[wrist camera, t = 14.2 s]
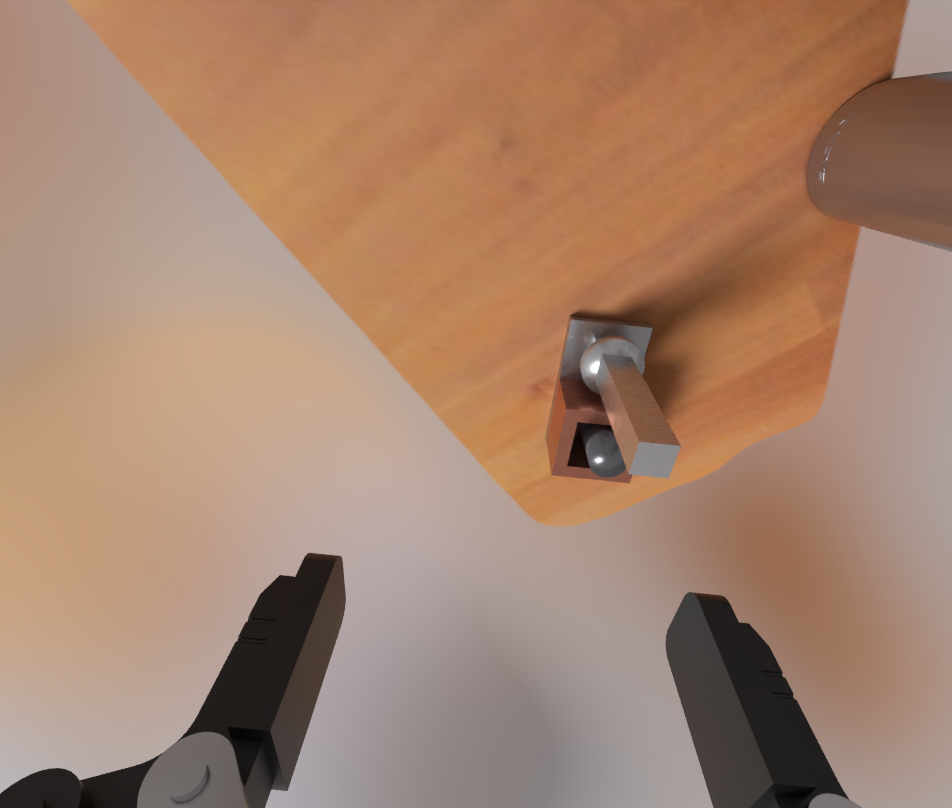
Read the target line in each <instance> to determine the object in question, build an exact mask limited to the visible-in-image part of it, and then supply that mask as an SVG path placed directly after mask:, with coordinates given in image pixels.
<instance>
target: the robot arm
mask: <svg viewBox="0 0 952 808" xmlns="http://www.w3.org/2000/svg"><path fill="white" fill-rule="evenodd" d="M807 185H808V191H809V193H810V196H811V199H812V201H813V202H814V203H815V205H816V206H817V207H818V209H819V210H821V211H822V212H823V213H825V214H826V215H828V216H830V217H833V218H836V219H839V220H842V221H846V222H849V223H853V224H856V225H860V226H863V227H866V228H870V229H873V230H876V231H880V232H884V233H887V234H891V235H894V236H898V237H901V238H905V239H908V240H912V241H916V242H919V243H923V244H927V245H930V246H933V247H937V248H941V249H944V250H948V251H951V252H952V72H941V73H934V74H926V75H919V76H911V77H903V78H895V79H889V80H886V81H883V82H880V83H877V84H874V85H872V86H870V87H868V88H867V89H865V90H863V91H861V92H859V93H858V94H856V95H855V96H854V97H852V98H851V99H850V100H849V101H847V102H846V103H845V104H844V105H842V107H841V108H840V109H839V110H838V111H837V112H836V113H835V114H834V115H833V116H832V117H831V118H830V120H829V121H828V122H827V124H826V125H825V127H824V128H823V129H822V131H821V132H820V134H819V136H818V138H817V140H816V142H815V144H814V146H813V148H812V152H811V155H810V158H809V161H808V169H807ZM345 602H346V595H345V584H344V574H343V562H342V558H341V556H335V555H325V554H315V553H308V554H307V555H306V556H305V558H304V560H303V562H302V564H301V566H300V568H299V570H298V572H297V575H296V577H293V576H283V575H280V576H279V577H278V578H276V580H275V581H273V582H272V583H271V585H269V586H268V587H267V588H266V589H265V590H264V591H263V592H262V593H261V594H260V596H259V598H258V600H257V602H256V604H255V606H254V607H253V609H252V611H251V613H250V615H249V617H248V622H246V623H245V625H244V627H243V629H242V631H241V633H240V635H239V636H238V641H237V642H235V644H234V646H233V648H232V650H231V652H230V654H229V656H228V658H227V660H226V662H225V664H224V665H223V667H222V669H221V671H220V673H219V675H218V677H217V679H216V681H215V683H214V685H213V687H212V689H211V691H210V692H209V695H208V696H207V698H206V700H205V702H204V704H203V706H202V708H201V710H200V712H199V714H198V716H197V717H196V719H195V721H194V722H193V724H192V725H191V727H190V728H189V729H188V731H187V732H186V733H185V734H184V735H183V736H182V737H181V738H180V739H179V740H178V741H177V742H176V743H175V744H173V745H172V746H171V747H169V748H168V749H167V750H166V751H165V752H164V753H162V754H160V755H159V756H157V757H155V758H154V759H151V760H149V761H147V762H145V763H142V764H139V765H136V766H133V767H129V768H125V769H121V770H117V771H114V772H110V773H106V774H103V775H99V776H95V777H91V778H87V779H84V780H79V779H78V778H77V776H76V775H74V774H73V773H72V772H71V771H68V770H66V769H60V768H56V769H55V768H54V769H47V770H42V771H39V772H36V773H33V774H31V775H29V776H27V777H25V778H23V779H21V780H19V781H18V782H16V783H14V784H13V785H11V786H10V787H9V788H7V789H6V790H5V791H3V792H2V793H1V794H0V808H265V806H266V803H267V800H268V797H269V794H270V791H271V789H274V790H283V791H287V790H288V787H289V784H290V781H291V778H292V775H293V772H294V769H295V766H296V763H297V760H298V756H299V754H300V750H301V747H302V744H303V741H304V738H305V735H306V732H307V729H308V726H309V723H310V720H311V717H312V714H313V710H314V707H315V704H316V701H317V698H318V695H319V692H320V689H321V686H322V683H323V680H324V677H325V673H326V670H327V667H328V664H329V661H330V658H331V655H332V652H333V649H334V645H335V643H336V639H337V636H338V633H339V630H340V627H341V624H342V620H343V616H344V610H345ZM666 651H667V658H668V661H669V665H670V667H671V671H672V674H673V677H674V681H675V684H676V687H677V691H678V694H679V697H680V700H681V704H682V707H683V709H684V713H685V717H686V720H687V723H688V726H689V730H690V733H691V736H692V739H693V743H694V746H695V749H696V752H697V755H698V759H699V762H700V765H701V768H702V772H703V775H704V778H705V781H706V785H707V788H708V791H709V794H710V798H711V801H712V804H713V807H714V808H861V807H860V806H859V805H857V804H855V803H854V802H852V801H850V800H849V798H848V797H847V795H846V794H845V792H844V791H843V789H842V787H841V786H840V784H839V782H838V780H837V778H836V776H835V774H834V772H833V771H832V768H831V767H830V765H829V763H828V761H827V759H826V757H825V755H824V753H823V751H822V749H821V747H820V745H819V743H818V741H817V739H816V737H815V735H814V733H813V731H812V729H811V727H810V725H809V724H808V722H807V719H806V718H805V716H804V714H803V712H802V710H801V708H800V706H799V704H798V702H797V700H796V699H794V698H793V692H792V690H791V688H790V686H789V685H788V682H787V680H786V678H784V677H783V676H782V670H781V669H780V667H779V665H778V663H777V661H776V659H775V657H774V655H773V653H772V651H771V649H770V647H769V646H768V645H767V644H766V643H765V641H764V640H763V639H762V638H761V637H760V636H759V634H758V633H757V632H756V631H755V630H754V629H753V628H752V627H751V625H750V624H748V623H739V622H738V620H737V618H736V616H735V613H734V611H733V609H732V607H731V605H730V603H729V602H728V600H727V599H726V598H725V597H723V596H721V595H711V594H701V593H691V592H689V593H687V594H686V595H685V596H684V598H683V600H682V602H681V604H680V606H679V608H678V610H677V612H676V614H675V616H674V619H673V620H672V623H671V624H670V626H669V628H668V631H667V635H666Z"/></svg>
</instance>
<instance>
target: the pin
mask: <svg viewBox="0 0 952 808" xmlns="http://www.w3.org/2000/svg"><path fill="white" fill-rule="evenodd" d="M578 424H579V428H580V432H581V436H582V439H583V443H584V447H585V451H586V455H587V458H588V462H589V466H590V469H591V470H592V472H593V473H594V474H596V475H598V476H600V477H605V478H610V477H615V476H617V475H619V474H621V473H622V472H623V471H624V470H625V469H626V465H625V463H624V460H623V457H622V454H621V451H620V449H619V446H618V443H617V440H616V438H615V435H614V432H613V429H612V426H611V425H602V424H592V423H582V422H578Z"/></svg>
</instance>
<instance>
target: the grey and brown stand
mask: <svg viewBox="0 0 952 808" xmlns="http://www.w3.org/2000/svg"><path fill="white" fill-rule="evenodd" d="M652 330H653V327H652V326H651V325H650V324H646V323H636V322H626V321H616V320H606V319H596V318H587V317H577V316H570V318H569V323H568V328H567V333H566V338H565V343H564V348H563V353H562V358H561V363H560V368H559V373H558V378H557V383H556V388H555V393H554V397H553V402H552V407H551V412H550V417H549V422H548V427H547V432H546V437H545V439H546V444H547V446H548V453H549V460H550V468H551V475H555V476H565V477H575V478H585V479H595V480H605V481H615V482H624V483H630V480H631V477H632V475H642V476H652V477H661V478H669V475H670V473H671V470H672V468H673V465H674V463H675V460H676V457H677V455H678V452H679V450H680V447H681V445H680V443H679V442H678V440H677V438H676V436H675V434H674V432H673V431H672V429H671V427H670V425H669V423H668V422H667V420H666V418H665V416H664V414H663V413H662V411H661V409H660V407H659V405H658V404H657V402H656V400H655V398H654V396H653V395H652V393H651V391H650V389H649V387H648V386H647V384H646V382H645V380H644V378H643V376H642V375H643V373H644V369H645V360H644V356H645V353H646V350H647V346H648V343H649V340H650V337H651V333H652ZM578 422H582V423H592V424H602V425H611V426H612V429H613V432H614V435H615V438H616V440H617V443H618V446H619V449H620V451H621V454H622V457H623V460H624V463H625V465H626V469H625V470H624V471H623V472H622V473H621V474H619V475H617V476H615V477H610V478H605V477H600V476H598V475H596V474H594V473H593V472H592V470H591V469H590V466H589V462H588V458H587V455H586V451H585V447H584V443H583V439H582V436H581V432H580V428H579V424H578Z"/></svg>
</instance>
